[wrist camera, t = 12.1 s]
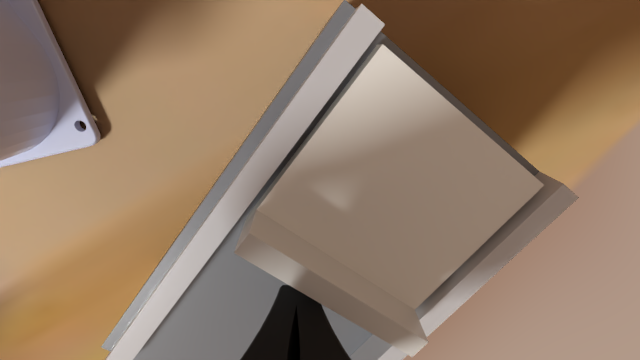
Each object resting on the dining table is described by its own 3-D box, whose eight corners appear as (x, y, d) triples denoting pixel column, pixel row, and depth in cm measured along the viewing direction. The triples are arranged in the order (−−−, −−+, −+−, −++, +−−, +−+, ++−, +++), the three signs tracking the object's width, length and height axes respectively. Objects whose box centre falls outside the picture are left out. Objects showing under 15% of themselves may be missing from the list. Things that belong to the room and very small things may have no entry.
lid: (395, 308, 14) (412, 357, 11) (246, 216, 12) (233, 252, 10) (529, 176, 12) (579, 205, 10) (377, 44, 10) (396, 42, 8)
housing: (300, 340, 22) (298, 464, 15) (158, 264, 19) (83, 373, 13) (481, 147, 18) (586, 204, 11) (330, 17, 15) (349, -8, 9)
